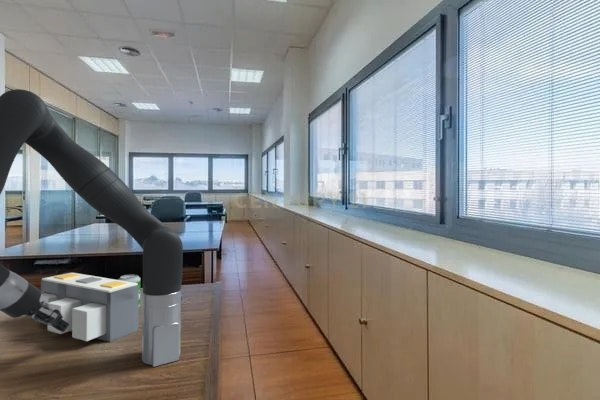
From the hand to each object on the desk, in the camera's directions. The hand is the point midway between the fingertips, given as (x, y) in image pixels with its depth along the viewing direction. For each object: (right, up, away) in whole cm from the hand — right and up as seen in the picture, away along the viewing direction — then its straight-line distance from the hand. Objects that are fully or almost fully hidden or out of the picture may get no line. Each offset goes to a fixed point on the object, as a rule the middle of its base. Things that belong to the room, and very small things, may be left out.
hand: (64, 327), depth 90 cm
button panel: (-5, -6, +17) cm, 19 cm away
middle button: (-7, -4, +12) cm, 15 cm away
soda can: (0, -6, +34) cm, 35 cm away
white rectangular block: (-16, -4, +19) cm, 25 cm away
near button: (+3, -5, +8) cm, 10 cm away
